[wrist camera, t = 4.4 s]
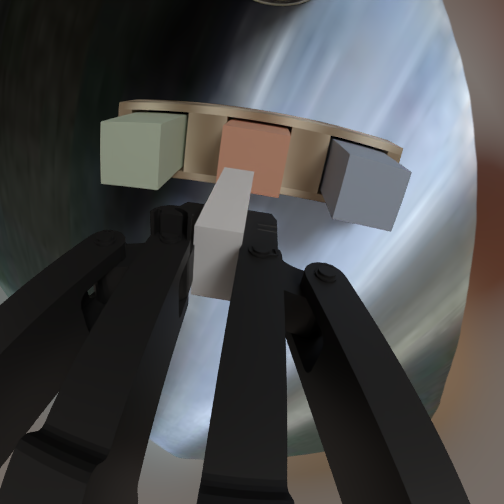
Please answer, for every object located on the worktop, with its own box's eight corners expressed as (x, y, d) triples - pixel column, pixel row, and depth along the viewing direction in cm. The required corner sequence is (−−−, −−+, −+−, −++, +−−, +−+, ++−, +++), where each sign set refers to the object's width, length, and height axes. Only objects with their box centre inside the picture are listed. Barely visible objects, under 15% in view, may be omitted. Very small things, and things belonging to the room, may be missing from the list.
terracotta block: (228, 165, 29) (215, 187, 23) (234, 116, 26) (223, 125, 20) (277, 173, 29) (278, 198, 23) (286, 125, 26) (291, 136, 20)
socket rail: (133, 161, 30) (117, 171, 26) (137, 99, 26) (119, 102, 23) (370, 200, 30) (382, 215, 27) (388, 140, 27) (403, 148, 23)
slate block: (319, 187, 27) (332, 218, 21) (331, 137, 24) (350, 154, 18) (367, 198, 27) (391, 231, 21) (380, 151, 24) (411, 172, 19)
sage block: (136, 160, 27) (101, 183, 21) (138, 111, 24) (100, 121, 18) (183, 165, 27) (157, 190, 21) (188, 114, 24) (161, 123, 18)
